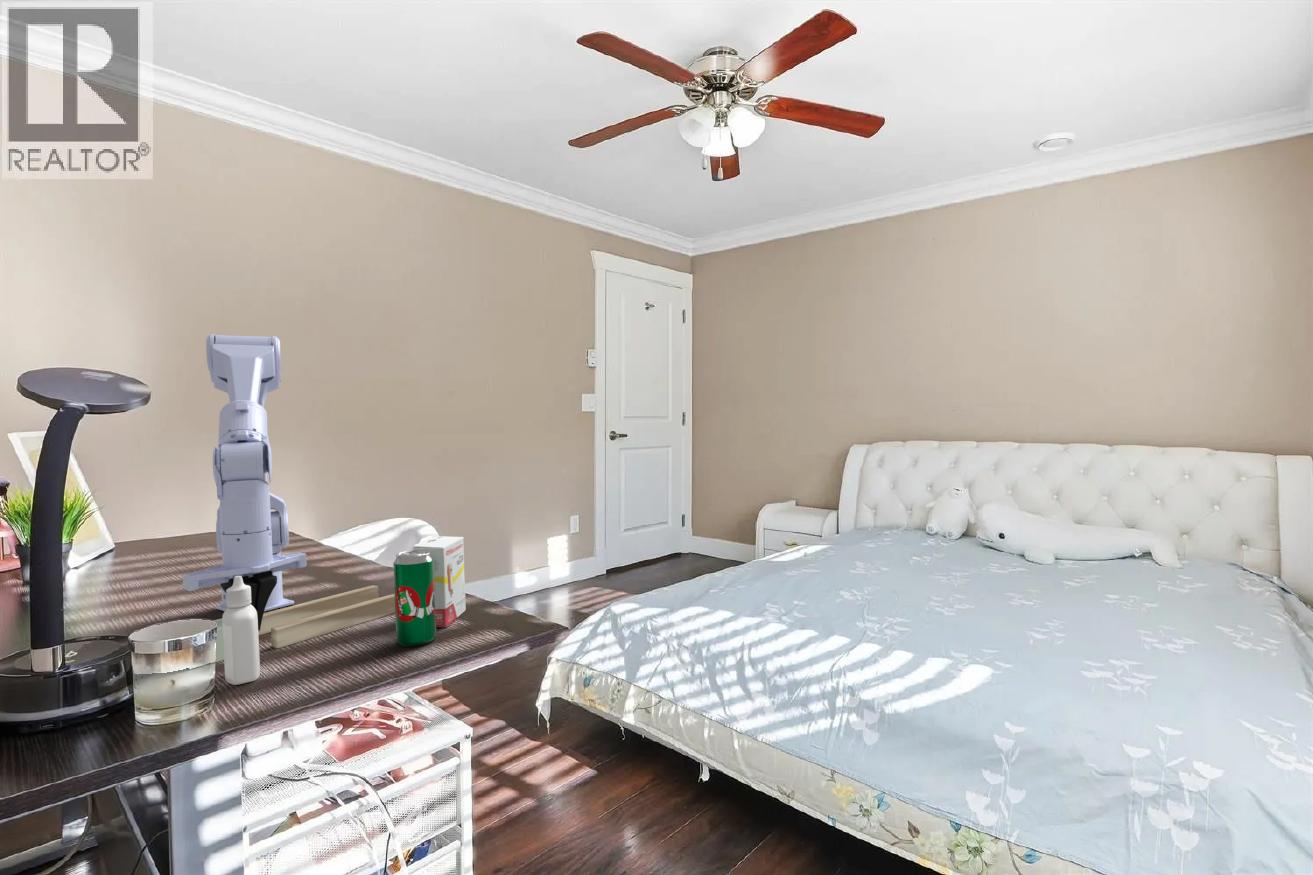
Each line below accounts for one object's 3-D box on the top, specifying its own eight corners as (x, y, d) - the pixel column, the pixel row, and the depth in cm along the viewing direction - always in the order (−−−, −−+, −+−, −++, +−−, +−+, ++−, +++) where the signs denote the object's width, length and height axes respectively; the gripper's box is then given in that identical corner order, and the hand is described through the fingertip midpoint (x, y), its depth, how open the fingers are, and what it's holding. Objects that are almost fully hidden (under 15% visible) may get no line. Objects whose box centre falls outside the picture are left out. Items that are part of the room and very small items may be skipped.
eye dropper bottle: (210, 688, 72) (204, 583, 72) (233, 669, 78) (229, 572, 77) (252, 684, 73) (247, 581, 72) (272, 666, 78) (268, 569, 78)
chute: (243, 636, 90) (242, 618, 90) (373, 599, 106) (372, 585, 106) (277, 648, 84) (277, 629, 84) (409, 608, 101) (408, 592, 101)
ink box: (446, 628, 91) (443, 546, 90) (413, 628, 91) (409, 546, 91) (467, 610, 99) (465, 535, 99) (436, 610, 100) (434, 535, 99)
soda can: (426, 632, 89) (423, 547, 89) (443, 640, 86) (439, 552, 85) (390, 641, 86) (386, 553, 85) (406, 651, 82) (402, 559, 82)
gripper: (197, 543, 77) (203, 653, 78) (316, 524, 90) (320, 619, 90) (173, 538, 81) (179, 643, 82) (290, 521, 93) (294, 612, 94)
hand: (251, 630), depth 86 cm, fingers closed
